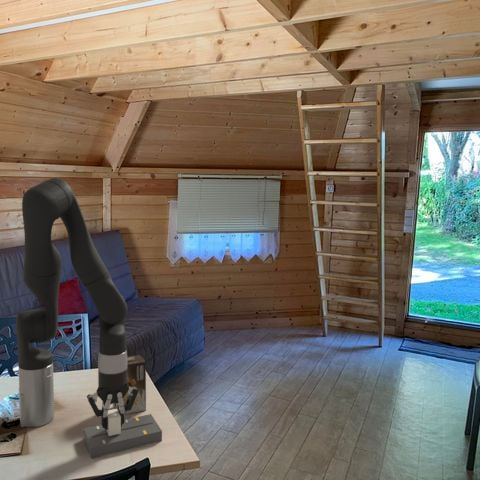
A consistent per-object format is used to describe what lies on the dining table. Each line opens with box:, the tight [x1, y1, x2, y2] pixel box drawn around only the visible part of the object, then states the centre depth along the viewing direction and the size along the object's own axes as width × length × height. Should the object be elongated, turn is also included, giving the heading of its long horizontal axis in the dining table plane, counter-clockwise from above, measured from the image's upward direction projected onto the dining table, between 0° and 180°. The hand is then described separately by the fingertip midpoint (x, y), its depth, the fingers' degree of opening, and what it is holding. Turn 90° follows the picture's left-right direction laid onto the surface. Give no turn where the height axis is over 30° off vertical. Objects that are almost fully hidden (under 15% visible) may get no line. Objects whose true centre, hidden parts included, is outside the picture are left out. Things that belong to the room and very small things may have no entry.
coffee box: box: [112, 354, 147, 416], centre depth 145 cm, size 9×6×16 cm
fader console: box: [83, 413, 163, 460], centre depth 129 cm, size 19×10×3 cm, turn 118°
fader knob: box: [106, 408, 121, 436], centre depth 127 cm, size 3×4×5 cm
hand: (113, 426), depth 127 cm, fingers closed on fader knob, 3 cm apart
